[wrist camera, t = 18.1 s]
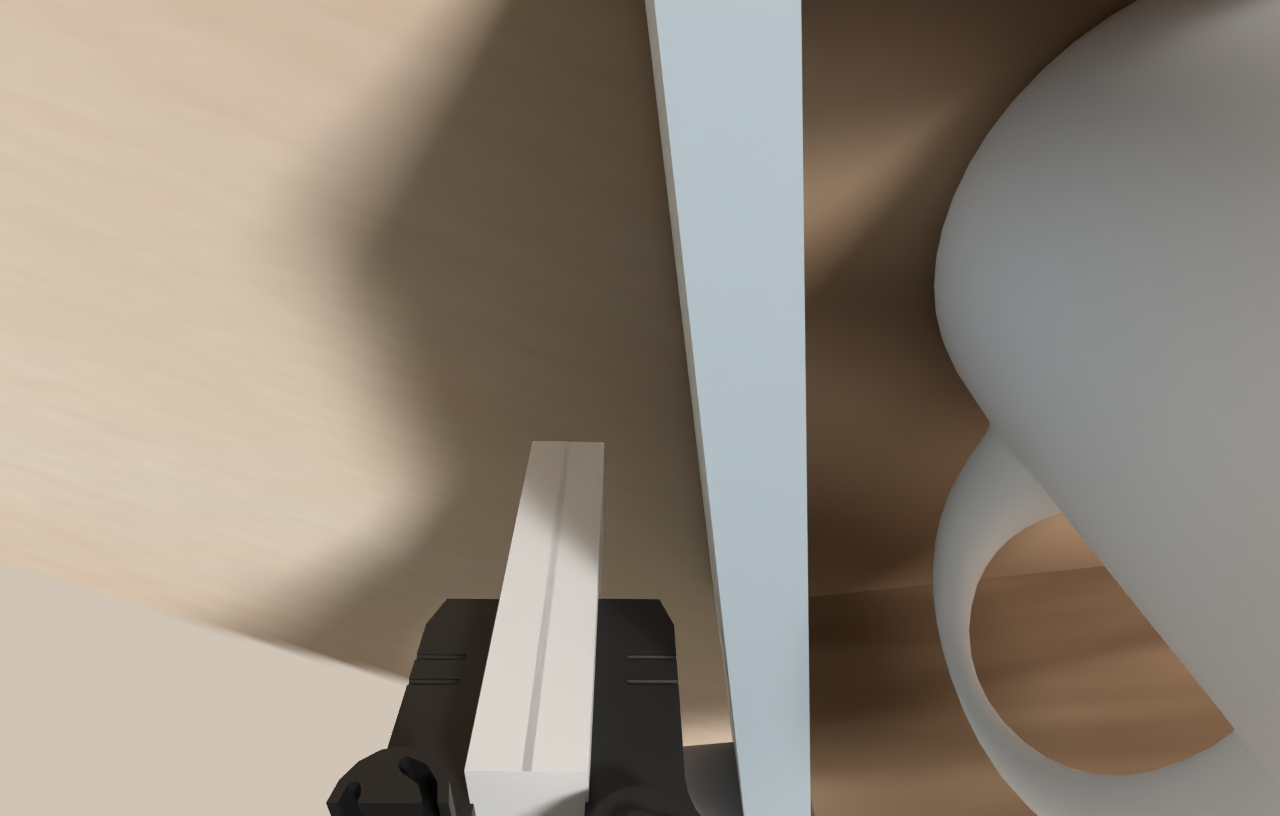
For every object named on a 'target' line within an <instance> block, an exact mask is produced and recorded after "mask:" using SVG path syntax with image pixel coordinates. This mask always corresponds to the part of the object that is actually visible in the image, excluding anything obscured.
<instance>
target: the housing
mask: <svg viewBox="0 0 1280 816" xmlns="http://www.w3.org/2000/svg"><path fill="white" fill-rule="evenodd" d="M1135 1H1137V0H801V27H802V113H803V198H804V284H805V370H806V455H807V541H808V627H809V713H810V798H811V816H1038V815H1037V814H1035V813H1034V812H1033V811H1032V810H1031V809H1030V808H1029V807H1028V806H1027V805H1026V804H1025V802H1024V801H1023V800H1022V799H1021V798H1020V797H1019V796H1018V795H1017V794H1016V792H1015V791H1014V790H1013V789H1012V788H1011V787H1010V786H1009V785H1008V784H1007V782H1006V781H1005V780H1004V779H1003V778H1002V777H1001V775H1000V774H999V772H998V771H997V769H996V768H995V766H994V765H993V763H992V761H991V760H990V758H989V757H988V755H987V754H986V752H985V751H984V749H983V748H982V746H981V744H980V743H979V741H978V739H977V737H976V735H975V733H974V731H973V729H972V727H971V725H970V723H969V721H968V719H967V717H966V714H965V712H964V710H963V708H962V705H961V703H960V700H959V698H958V695H957V692H956V690H955V687H954V684H953V682H952V679H951V676H950V673H949V669H948V666H947V663H946V659H945V656H944V653H943V650H942V645H941V640H940V636H939V631H938V626H937V621H936V613H935V605H934V597H933V562H934V551H935V541H936V536H937V532H938V527H939V522H940V518H941V515H942V512H943V509H944V506H945V503H946V500H947V497H948V495H949V493H950V491H951V489H952V487H953V484H954V482H955V480H956V478H957V476H958V474H959V473H960V471H961V469H962V468H963V466H964V464H965V462H966V461H967V459H968V457H969V456H970V455H971V453H972V452H973V450H974V449H975V447H976V446H977V445H978V443H979V442H980V440H981V439H982V437H983V436H984V434H985V432H986V431H987V429H988V428H989V420H988V418H987V417H986V415H985V414H984V412H983V411H982V410H981V408H980V407H979V405H978V403H977V402H976V400H975V399H974V397H973V396H972V394H971V393H970V391H969V390H968V388H967V387H966V385H965V384H964V382H963V381H962V379H961V378H960V376H959V375H958V373H957V371H956V369H955V367H954V365H953V363H952V361H951V358H950V356H949V354H948V352H947V350H946V347H945V345H944V342H943V339H942V337H941V333H940V329H939V324H938V320H937V316H936V309H935V294H934V279H935V266H936V256H937V251H938V247H939V242H940V237H941V233H942V228H943V225H944V222H945V219H946V217H947V214H948V211H949V208H950V205H951V202H952V199H953V197H954V194H955V192H956V190H957V188H958V186H959V184H960V182H961V180H962V178H963V176H964V173H965V171H966V169H967V167H968V165H969V163H970V161H971V160H972V158H973V157H974V155H975V153H976V152H977V150H978V149H979V147H980V145H981V144H982V142H983V141H984V139H985V137H986V136H987V134H988V132H989V131H990V130H991V129H992V127H993V126H994V125H995V123H996V122H997V121H998V119H999V118H1000V117H1001V116H1002V114H1003V113H1004V112H1005V110H1006V109H1007V108H1008V106H1009V105H1010V104H1011V103H1012V102H1013V100H1014V99H1015V98H1016V97H1017V96H1018V95H1019V94H1020V93H1021V92H1022V91H1023V90H1024V89H1025V88H1026V87H1027V86H1028V85H1029V84H1030V82H1031V81H1032V80H1033V79H1034V78H1035V77H1036V76H1037V75H1038V74H1039V73H1040V72H1041V71H1042V70H1043V69H1044V68H1045V67H1046V66H1047V65H1048V64H1050V63H1051V62H1052V61H1053V60H1054V59H1055V58H1056V57H1058V56H1059V55H1060V54H1061V53H1062V52H1063V51H1065V50H1066V49H1067V48H1068V47H1069V46H1070V45H1071V44H1073V43H1074V42H1075V41H1076V40H1078V39H1079V38H1080V37H1082V36H1083V35H1084V34H1086V33H1087V32H1089V31H1090V30H1091V29H1093V28H1094V27H1096V26H1097V25H1098V24H1100V23H1101V22H1103V21H1104V20H1105V19H1107V18H1108V17H1110V16H1111V15H1113V14H1114V13H1116V12H1118V11H1120V10H1121V9H1123V8H1125V7H1127V6H1128V5H1130V4H1132V3H1134V2H1135ZM969 636H970V648H971V657H972V660H973V664H974V667H975V671H976V675H977V678H978V680H979V682H980V684H981V687H982V689H983V691H984V693H985V695H986V697H987V699H988V701H989V702H990V704H991V705H992V706H993V708H994V709H995V711H996V712H997V713H998V715H999V716H1000V717H1001V719H1002V720H1003V722H1004V723H1005V724H1006V725H1007V726H1008V727H1010V728H1011V729H1012V730H1013V731H1014V732H1015V733H1016V734H1017V735H1018V736H1019V737H1020V738H1021V739H1022V740H1023V741H1024V742H1025V743H1026V744H1028V745H1029V746H1031V747H1032V748H1034V749H1035V750H1037V751H1038V752H1039V753H1041V754H1042V755H1044V756H1045V757H1047V758H1049V759H1051V760H1053V761H1056V762H1058V763H1060V764H1062V765H1064V766H1066V767H1069V768H1073V769H1077V770H1081V771H1085V772H1089V773H1094V774H1100V775H1119V776H1125V775H1131V774H1137V773H1143V772H1150V771H1154V770H1157V769H1160V768H1163V767H1166V766H1169V765H1172V764H1175V763H1177V762H1180V761H1183V760H1186V759H1188V758H1190V757H1192V756H1194V755H1196V754H1198V753H1200V752H1202V751H1204V750H1206V749H1208V748H1210V747H1212V746H1214V745H1215V744H1216V743H1218V742H1219V741H1220V740H1222V739H1223V738H1224V737H1226V736H1227V735H1228V734H1230V733H1231V732H1232V731H1234V728H1233V726H1232V725H1231V724H1230V723H1229V721H1228V720H1227V719H1226V718H1225V716H1224V715H1223V714H1222V712H1221V711H1220V710H1219V709H1218V707H1217V706H1216V705H1215V704H1214V702H1213V701H1212V700H1211V699H1210V697H1209V696H1208V695H1207V694H1206V692H1205V691H1204V690H1203V688H1202V687H1201V686H1200V685H1199V683H1198V682H1197V681H1196V680H1195V678H1194V677H1193V676H1192V675H1191V673H1190V672H1189V671H1188V670H1187V668H1186V667H1185V666H1184V664H1183V663H1182V662H1181V661H1180V659H1179V658H1178V657H1177V656H1176V655H1175V653H1174V652H1173V651H1172V650H1171V648H1170V647H1169V646H1168V645H1167V643H1166V642H1165V641H1164V640H1163V639H1162V637H1161V636H1160V635H1159V634H1158V632H1157V631H1156V630H1155V629H1154V627H1153V626H1152V625H1151V624H1150V623H1149V621H1148V620H1147V619H1146V618H1145V616H1144V615H1143V614H1142V613H1141V611H1140V610H1139V609H1138V608H1137V606H1136V605H1135V604H1134V603H1133V601H1132V600H1131V599H1130V598H1129V596H1128V595H1127V594H1126V593H1125V591H1124V590H1123V589H1122V588H1121V586H1120V585H1119V584H1118V582H1117V581H1116V580H1115V579H1114V577H1113V576H1112V575H1111V574H1110V572H1109V571H1108V570H1107V569H1106V567H1105V566H1104V565H1103V564H1102V562H1101V561H1100V560H1099V559H1098V557H1097V556H1096V555H1095V553H1094V552H1093V551H1092V550H1091V548H1090V547H1089V546H1088V545H1087V543H1086V542H1085V541H1084V540H1083V538H1082V537H1081V536H1080V535H1079V533H1078V532H1077V531H1076V529H1075V528H1074V527H1073V526H1072V524H1071V523H1070V522H1069V520H1068V519H1067V518H1066V517H1065V515H1064V514H1063V513H1059V514H1056V515H1054V516H1051V517H1048V518H1046V519H1043V520H1041V521H1039V522H1037V523H1035V524H1033V525H1031V526H1029V527H1027V528H1025V529H1024V530H1022V531H1021V532H1019V533H1018V534H1016V535H1015V536H1013V537H1012V538H1010V539H1009V540H1008V541H1007V542H1006V543H1005V544H1004V545H1003V546H1002V547H1001V548H1000V549H999V550H998V551H997V552H996V554H995V555H994V556H993V558H992V559H991V560H990V562H989V563H988V565H987V566H986V568H985V570H984V572H983V574H982V576H981V578H980V580H979V582H978V584H977V587H976V591H975V595H974V599H973V602H972V606H971V615H970V625H969Z"/></svg>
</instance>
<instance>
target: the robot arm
mask: <svg viewBox="0 0 1280 816" xmlns="http://www.w3.org/2000/svg"><path fill="white" fill-rule="evenodd" d="M603 548H604V442H569V441H532V445H531V450H530V455H529V460H528V465H527V470H526V475H525V479H524V484H523V489H522V494H521V499H520V504H519V508H518V513H517V518H516V523H515V528H514V533H513V537H512V542H511V547H510V552H509V557H508V562H507V567H506V571H505V576H504V581H503V586H502V591H501V596H500V599H447V600H446V601H445V602H444V603H443V604H442V606H441V607H440V608H439V609H438V611H437V612H436V613H435V614H434V615H433V617H432V618H431V619H430V620H429V621H428V623H427V624H426V627H425V630H424V633H423V636H422V639H421V643H420V646H419V649H418V652H417V659H416V660H415V662H414V665H413V668H412V671H411V675H410V678H409V685H407V687H406V691H405V694H404V697H403V700H402V704H401V707H400V710H399V713H398V716H397V719H396V723H395V726H394V729H393V732H392V735H391V739H390V742H389V745H388V748H387V749H383V750H380V751H378V752H376V753H374V754H372V755H370V756H368V757H366V758H365V759H362V760H361V761H359V762H358V763H357V764H355V765H354V766H353V767H352V768H351V769H350V770H349V771H348V772H347V773H346V774H345V775H344V776H343V777H342V778H341V779H340V780H339V781H338V783H337V785H336V787H335V788H334V790H333V792H332V794H331V796H330V797H329V799H328V801H327V802H326V804H327V806H328V809H329V811H330V814H331V816H701V815H700V814H699V813H698V811H697V810H696V809H695V807H694V804H693V802H692V800H691V798H690V796H689V794H688V789H687V784H686V779H685V770H684V756H683V742H682V729H681V715H680V701H679V688H678V674H677V660H676V647H675V633H674V624H673V623H672V621H671V619H670V617H669V616H668V614H667V612H666V610H665V609H664V607H663V605H662V603H661V602H660V600H659V599H601V597H602V573H603Z"/></svg>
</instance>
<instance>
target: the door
mask: <svg viewBox="0 0 1280 816" xmlns="http://www.w3.org/2000/svg"><path fill="white" fill-rule="evenodd" d="M645 6H646V15H647V24H648V32H649V41H650V49H651V58H652V66H653V75H654V84H655V92H656V101H657V109H658V118H659V126H660V135H661V144H662V152H663V161H664V169H665V178H666V186H667V195H668V204H669V212H670V221H671V229H672V238H673V246H674V255H675V264H676V272H677V281H678V289H679V298H680V306H681V315H682V324H683V332H684V341H685V349H686V358H687V366H688V375H689V384H690V392H691V401H692V409H693V418H694V426H695V435H696V443H697V452H698V461H699V469H700V478H701V486H702V495H703V503H704V512H705V521H706V529H707V538H708V546H709V555H710V563H711V572H712V581H713V589H714V598H715V606H716V614H717V621H718V629H719V637H720V645H721V653H722V660H723V668H724V676H725V684H726V692H727V700H728V707H729V715H730V723H731V731H732V739H733V742H729V743H718V744H706V745H695V746H683V756H684V770H685V779H686V784H687V789H688V794H689V796H690V798H691V800H692V802H693V804H694V807H695V809H696V810H697V811H698V813H699V814H700V815H701V816H811V798H810V713H809V627H808V541H807V455H806V370H805V284H804V198H803V113H802V27H801V0H645Z"/></svg>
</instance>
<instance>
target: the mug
mask: <svg viewBox="0 0 1280 816" xmlns="http://www.w3.org/2000/svg"><path fill="white" fill-rule="evenodd" d="M934 294H935V309H936V316H937V320H938V324H939V329H940V333H941V337H942V339H943V342H944V345H945V347H946V350H947V352H948V354H949V356H950V358H951V361H952V363H953V365H954V367H955V369H956V371H957V373H958V375H959V376H960V378H961V379H962V381H963V382H964V384H965V385H966V387H967V388H968V390H969V391H970V393H971V394H972V396H973V397H974V399H975V400H976V402H977V403H978V405H979V407H980V408H981V410H982V411H983V412H984V414H985V415H986V417H987V418H988V420H989V428H988V429H987V431H986V432H985V434H984V436H983V437H982V439H981V440H980V442H979V443H978V445H977V446H976V447H975V449H974V450H973V452H972V453H971V455H970V456H969V457H968V459H967V461H966V462H965V464H964V466H963V468H962V469H961V471H960V473H959V474H958V476H957V478H956V480H955V482H954V484H953V487H952V489H951V491H950V493H949V495H948V497H947V500H946V503H945V506H944V509H943V512H942V515H941V518H940V522H939V527H938V532H937V536H936V541H935V551H934V562H933V597H934V605H935V613H936V621H937V626H938V631H939V636H940V640H941V645H942V650H943V653H944V656H945V659H946V663H947V666H948V669H949V673H950V676H951V679H952V682H953V684H954V687H955V690H956V692H957V695H958V698H959V700H960V703H961V705H962V708H963V710H964V712H965V714H966V717H967V719H968V721H969V723H970V725H971V727H972V729H973V731H974V733H975V735H976V737H977V739H978V741H979V743H980V744H981V746H982V748H983V749H984V751H985V752H986V754H987V755H988V757H989V758H990V760H991V761H992V763H993V765H994V766H995V768H996V769H997V771H998V772H999V774H1000V775H1001V777H1002V778H1003V779H1004V780H1005V781H1006V782H1007V784H1008V785H1009V786H1010V787H1011V788H1012V789H1013V790H1014V791H1015V792H1016V794H1017V795H1018V796H1019V797H1020V798H1021V799H1022V800H1023V801H1024V802H1025V804H1026V805H1027V806H1028V807H1029V808H1030V809H1031V810H1032V811H1033V812H1034V813H1035V814H1037V815H1038V816H1280V0H1137V1H1135V2H1134V3H1132V4H1130V5H1128V6H1127V7H1125V8H1123V9H1121V10H1120V11H1118V12H1116V13H1114V14H1113V15H1111V16H1110V17H1108V18H1107V19H1105V20H1104V21H1103V22H1101V23H1100V24H1098V25H1097V26H1096V27H1094V28H1093V29H1091V30H1090V31H1089V32H1087V33H1086V34H1084V35H1083V36H1082V37H1080V38H1079V39H1078V40H1076V41H1075V42H1074V43H1073V44H1071V45H1070V46H1069V47H1068V48H1067V49H1066V50H1065V51H1063V52H1062V53H1061V54H1060V55H1059V56H1058V57H1056V58H1055V59H1054V60H1053V61H1052V62H1051V63H1050V64H1048V65H1047V66H1046V67H1045V68H1044V69H1043V70H1042V71H1041V72H1040V73H1039V74H1038V75H1037V76H1036V77H1035V78H1034V79H1033V80H1032V81H1031V82H1030V84H1029V85H1028V86H1027V87H1026V88H1025V89H1024V90H1023V91H1022V92H1021V93H1020V94H1019V95H1018V96H1017V97H1016V98H1015V99H1014V100H1013V102H1012V103H1011V104H1010V105H1009V106H1008V108H1007V109H1006V110H1005V112H1004V113H1003V114H1002V116H1001V117H1000V118H999V119H998V121H997V122H996V123H995V125H994V126H993V127H992V129H991V130H990V131H989V132H988V134H987V136H986V137H985V139H984V141H983V142H982V144H981V145H980V147H979V149H978V150H977V152H976V153H975V155H974V157H973V158H972V160H971V161H970V163H969V165H968V167H967V169H966V171H965V173H964V176H963V178H962V180H961V182H960V184H959V186H958V188H957V190H956V192H955V194H954V197H953V199H952V202H951V205H950V208H949V211H948V214H947V217H946V219H945V222H944V225H943V228H942V233H941V237H940V242H939V247H938V251H937V256H936V266H935V279H934ZM1059 513H1063V514H1064V515H1065V517H1066V518H1067V519H1068V520H1069V522H1070V523H1071V524H1072V526H1073V527H1074V528H1075V529H1076V531H1077V532H1078V533H1079V535H1080V536H1081V537H1082V538H1083V540H1084V541H1085V542H1086V543H1087V545H1088V546H1089V547H1090V548H1091V550H1092V551H1093V552H1094V553H1095V555H1096V556H1097V557H1098V559H1099V560H1100V561H1101V562H1102V564H1103V565H1104V566H1105V567H1106V569H1107V570H1108V571H1109V572H1110V574H1111V575H1112V576H1113V577H1114V579H1115V580H1116V581H1117V582H1118V584H1119V585H1120V586H1121V588H1122V589H1123V590H1124V591H1125V593H1126V594H1127V595H1128V596H1129V598H1130V599H1131V600H1132V601H1133V603H1134V604H1135V605H1136V606H1137V608H1138V609H1139V610H1140V611H1141V613H1142V614H1143V615H1144V616H1145V618H1146V619H1147V620H1148V621H1149V623H1150V624H1151V625H1152V626H1153V627H1154V629H1155V630H1156V631H1157V632H1158V634H1159V635H1160V636H1161V637H1162V639H1163V640H1164V641H1165V642H1166V643H1167V645H1168V646H1169V647H1170V648H1171V650H1172V651H1173V652H1174V653H1175V655H1176V656H1177V657H1178V658H1179V659H1180V661H1181V662H1182V663H1183V664H1184V666H1185V667H1186V668H1187V670H1188V671H1189V672H1190V673H1191V675H1192V676H1193V677H1194V678H1195V680H1196V681H1197V682H1198V683H1199V685H1200V686H1201V687H1202V688H1203V690H1204V691H1205V692H1206V694H1207V695H1208V696H1209V697H1210V699H1211V700H1212V701H1213V702H1214V704H1215V705H1216V706H1217V707H1218V709H1219V710H1220V711H1221V712H1222V714H1223V715H1224V716H1225V718H1226V719H1227V720H1228V721H1229V723H1230V724H1231V725H1232V726H1233V728H1234V731H1232V732H1231V733H1230V734H1228V735H1227V736H1226V737H1224V738H1223V739H1222V740H1220V741H1219V742H1218V743H1216V744H1215V745H1214V746H1212V747H1210V748H1208V749H1206V750H1204V751H1202V752H1200V753H1198V754H1196V755H1194V756H1192V757H1190V758H1188V759H1186V760H1183V761H1180V762H1177V763H1175V764H1172V765H1169V766H1166V767H1163V768H1160V769H1157V770H1154V771H1150V772H1143V773H1137V774H1131V775H1125V776H1119V775H1100V774H1094V773H1089V772H1085V771H1081V770H1077V769H1073V768H1069V767H1066V766H1064V765H1062V764H1060V763H1058V762H1056V761H1053V760H1051V759H1049V758H1047V757H1045V756H1044V755H1042V754H1041V753H1039V752H1038V751H1037V750H1035V749H1034V748H1032V747H1031V746H1029V745H1028V744H1026V743H1025V742H1024V741H1023V740H1022V739H1021V738H1020V737H1019V736H1018V735H1017V734H1016V733H1015V732H1014V731H1013V730H1012V729H1011V728H1010V727H1008V726H1007V725H1006V724H1005V723H1004V722H1003V720H1002V719H1001V717H1000V716H999V715H998V713H997V712H996V711H995V709H994V708H993V706H992V705H991V704H990V702H989V701H988V699H987V697H986V695H985V693H984V691H983V689H982V687H981V684H980V682H979V680H978V678H977V675H976V671H975V667H974V664H973V660H972V657H971V648H970V636H969V625H970V615H971V606H972V602H973V599H974V595H975V591H976V587H977V584H978V582H979V580H980V578H981V576H982V574H983V572H984V570H985V568H986V566H987V565H988V563H989V562H990V560H991V559H992V558H993V556H994V555H995V554H996V552H997V551H998V550H999V549H1000V548H1001V547H1002V546H1003V545H1004V544H1005V543H1006V542H1007V541H1008V540H1009V539H1010V538H1012V537H1013V536H1015V535H1016V534H1018V533H1019V532H1021V531H1022V530H1024V529H1025V528H1027V527H1029V526H1031V525H1033V524H1035V523H1037V522H1039V521H1041V520H1043V519H1046V518H1048V517H1051V516H1054V515H1056V514H1059Z"/></svg>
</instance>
